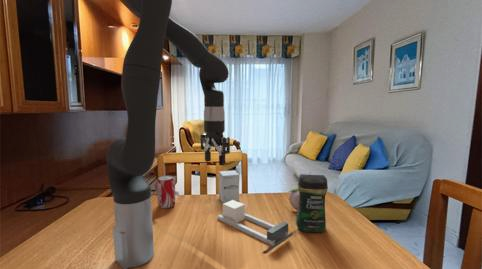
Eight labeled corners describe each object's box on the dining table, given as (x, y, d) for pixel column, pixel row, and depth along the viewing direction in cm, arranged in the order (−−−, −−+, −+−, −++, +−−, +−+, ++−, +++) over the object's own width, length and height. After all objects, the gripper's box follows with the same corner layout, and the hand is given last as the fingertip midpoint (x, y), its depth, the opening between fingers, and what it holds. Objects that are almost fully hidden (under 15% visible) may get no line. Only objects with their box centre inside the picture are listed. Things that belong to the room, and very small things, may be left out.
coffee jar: (297, 233, 83) (299, 178, 80) (295, 221, 91) (296, 171, 88) (328, 234, 82) (330, 179, 80) (322, 223, 90) (325, 172, 87)
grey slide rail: (211, 225, 88) (211, 211, 88) (239, 212, 98) (239, 200, 98) (266, 253, 72) (266, 237, 71) (292, 234, 82) (293, 220, 81)
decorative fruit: (292, 217, 94) (293, 191, 93) (286, 207, 102) (286, 184, 101) (317, 215, 96) (318, 190, 94) (308, 206, 104) (309, 183, 102)
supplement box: (222, 205, 105) (221, 175, 103) (218, 198, 112) (218, 170, 110) (239, 203, 107) (239, 174, 105) (235, 197, 114) (235, 169, 112)
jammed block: (222, 218, 91) (222, 203, 90) (232, 214, 94) (232, 199, 94) (234, 224, 87) (234, 208, 86) (244, 219, 90) (244, 204, 90)
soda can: (173, 209, 101) (171, 180, 100) (155, 209, 101) (153, 180, 100) (177, 202, 108) (176, 175, 107) (161, 202, 108) (159, 175, 107)
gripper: (194, 118, 95) (195, 161, 97) (219, 120, 85) (220, 168, 87) (209, 117, 100) (210, 158, 102) (235, 119, 90) (235, 164, 93)
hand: (214, 163), depth 95 cm, fingers open, 7 cm apart
